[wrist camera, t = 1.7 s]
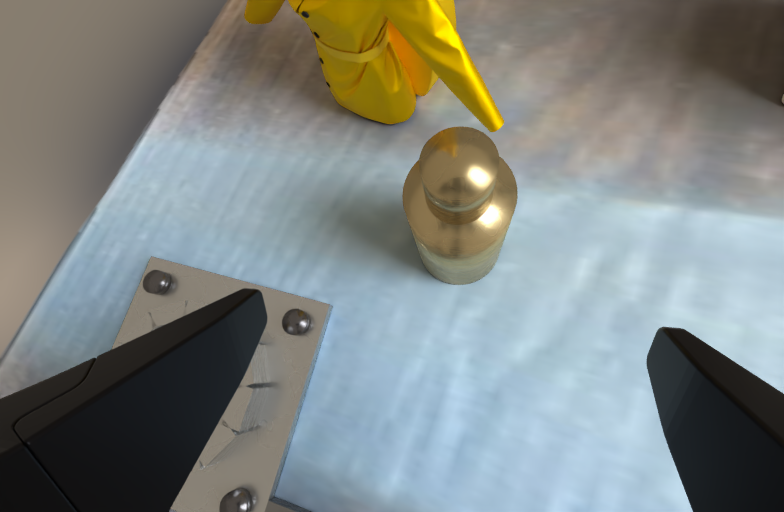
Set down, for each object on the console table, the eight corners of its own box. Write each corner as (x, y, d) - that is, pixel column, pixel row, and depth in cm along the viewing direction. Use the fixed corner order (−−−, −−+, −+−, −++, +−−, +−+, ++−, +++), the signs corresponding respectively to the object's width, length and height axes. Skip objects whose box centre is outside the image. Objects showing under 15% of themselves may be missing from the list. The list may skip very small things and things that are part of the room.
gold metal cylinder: (490, 293, 21) (513, 237, 12) (410, 274, 22) (377, 209, 13) (506, 217, 22) (540, 113, 13) (430, 202, 23) (411, 95, 14)
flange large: (260, 539, 20) (233, 562, 17) (73, 459, 22) (29, 469, 20) (332, 306, 22) (318, 298, 20) (158, 258, 25) (127, 248, 23)
